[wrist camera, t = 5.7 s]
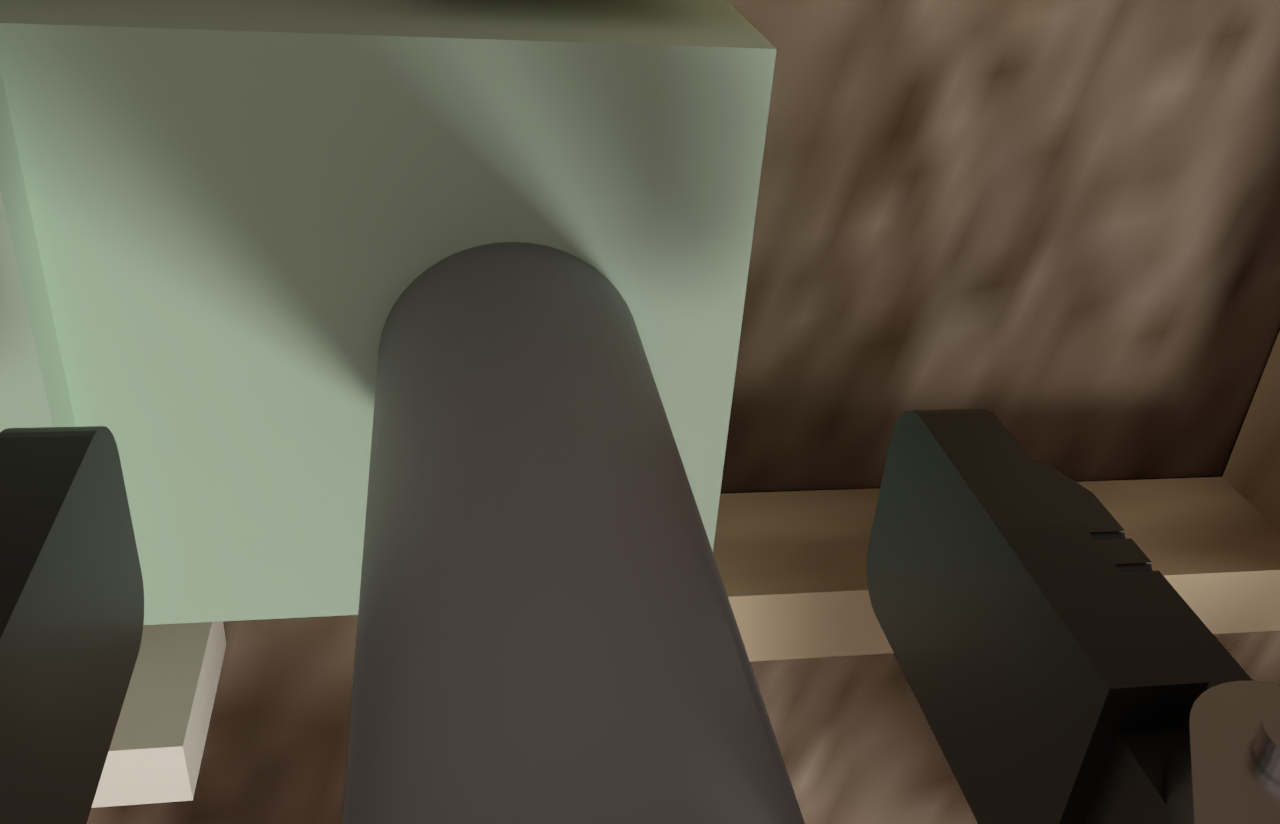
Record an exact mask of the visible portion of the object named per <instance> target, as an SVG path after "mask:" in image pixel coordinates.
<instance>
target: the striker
mask: <svg viewBox="0 0 1280 824" xmlns="http://www.w3.org/2000/svg"><path fill="white" fill-rule="evenodd" d="M776 50H777V49H776V48H775V47H774V46H773V45H772V44H771V43H770V42H769V41H768V40H767V39H766V38H765V37H764V36H763V35H762V34H761V33H760V32H759V31H758V30H757V29H756V28H755V27H754V26H753V25H751V24H750V23H749V22H748V21H747V20H746V19H745V18H744V17H743V16H742V15H741V14H740V13H739V12H738V11H737V10H736V9H735V8H734V7H733V6H732V5H731V4H730V3H729V2H728V1H727V0H0V432H2V431H3V430H4V429H7V428H37V427H84V426H105V427H107V428H108V429H109V430H110V431H111V432H112V434H113V436H114V439H115V441H116V444H117V448H118V452H119V457H120V462H121V467H122V473H123V478H124V483H125V488H126V494H127V499H128V504H129V509H130V515H131V520H132V525H133V530H134V536H135V541H136V546H137V551H138V556H139V562H140V567H141V572H142V579H143V588H144V623H143V625H158V624H179V623H199V622H220V621H240V620H261V619H281V618H302V617H322V616H342V615H358V624H357V637H356V650H355V663H354V676H353V689H352V702H351V715H350V728H349V741H348V755H347V768H346V781H345V794H344V807H343V820H342V824H805V823H804V820H803V817H802V814H801V811H800V808H799V805H798V803H797V800H796V797H795V794H794V791H793V788H792V785H791V782H790V779H789V776H788V773H787V770H786V767H785V764H784V761H783V758H782V755H781V752H780V749H779V746H778V743H777V740H776V738H775V735H774V732H773V729H772V726H771V723H770V720H769V717H768V714H767V711H766V708H765V705H764V702H763V699H762V696H761V693H760V690H759V687H758V684H757V681H756V678H755V676H754V673H753V670H752V667H751V664H750V661H749V658H748V655H747V652H746V649H745V646H744V643H743V640H742V637H741V634H740V631H739V628H738V625H737V622H736V619H735V616H734V614H733V611H732V608H731V605H730V602H729V599H728V596H727V593H726V590H725V587H724V584H723V581H722V578H721V575H720V572H719V569H718V566H717V563H716V560H715V557H714V554H713V547H714V539H715V531H716V523H717V515H718V507H719V499H720V492H721V484H722V476H723V468H724V460H725V452H726V444H727V436H728V429H729V421H730V413H731V405H732V397H733V389H734V381H735V373H736V365H737V358H738V350H739V342H740V334H741V326H742V318H743V310H744V302H745V295H746V287H747V279H748V271H749V263H750V255H751V247H752V239H753V232H754V224H755V216H756V208H757V200H758V192H759V184H760V176H761V169H762V161H763V153H764V145H765V137H766V129H767V121H768V113H769V105H770V98H771V90H772V82H773V74H774V66H775V58H776Z"/></svg>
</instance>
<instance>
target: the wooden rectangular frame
mask: <svg viewBox="0 0 1280 824" xmlns="http://www.w3.org/2000/svg"><path fill="white" fill-rule="evenodd" d="M1077 483H1079V484H1080V485H1082V486H1083V487H1085V488H1086V489H1088V490H1089V491H1091V492H1092V493H1093V494H1094V495H1095V496H1096V497H1097V498H1098V499H1099V501H1100V502H1101V503H1102V504H1103V505H1104V507H1105V508H1106V509H1107V510H1108V511H1109V512H1110V514H1111V515H1112V516H1113V517H1114V518H1115V519H1116V521H1117V522H1118V523H1119V524H1120V525H1121V527H1122V528H1123V529H1124V530H1125V538H1126V539H1128V538H1132V539H1133V541H1134V542H1135V543H1136V544H1137V545H1138V547H1139V548H1140V549H1141V550H1142V551H1143V552H1144V554H1145V555H1146V556H1147V557H1148V558H1149V559H1150V561H1151V562H1152V564H1151V566H1152V570H1153V571H1158V570H1159V571H1160V572H1161V574H1162V575H1163V576H1164V577H1165V578H1166V579H1167V581H1168V582H1169V583H1170V584H1171V585H1172V587H1173V588H1174V589H1175V590H1176V591H1177V592H1178V594H1179V595H1180V596H1181V597H1182V598H1183V599H1184V601H1185V602H1186V603H1187V604H1188V605H1189V607H1190V608H1191V609H1192V610H1193V611H1194V612H1195V614H1196V615H1197V616H1198V617H1199V618H1200V619H1201V621H1202V622H1203V623H1204V624H1205V625H1206V627H1207V628H1208V629H1209V630H1210V631H1211V632H1212V634H1228V633H1245V632H1262V631H1279V630H1280V331H1279V334H1278V336H1277V339H1276V341H1275V344H1274V346H1273V349H1272V351H1271V354H1270V357H1269V359H1268V362H1267V364H1266V367H1265V369H1264V372H1263V374H1262V377H1261V380H1260V382H1259V385H1258V387H1257V390H1256V392H1255V395H1254V397H1253V400H1252V402H1251V405H1250V408H1249V410H1248V413H1247V415H1246V418H1245V420H1244V423H1243V425H1242V428H1241V431H1240V433H1239V436H1238V438H1237V441H1236V443H1235V446H1234V448H1233V451H1232V453H1231V456H1230V459H1229V461H1228V464H1227V466H1226V469H1225V471H1224V474H1223V476H1222V477H1205V478H1175V479H1146V480H1116V481H1086V482H1077ZM879 492H880V488H876V489H846V490H817V491H787V492H757V493H727V494H720V499H719V507H718V515H717V523H716V531H715V539H714V547H713V554H714V557H715V560H716V563H717V566H718V569H719V572H720V575H721V578H722V581H723V584H724V587H725V590H726V593H727V596H728V599H729V602H730V605H731V608H732V611H733V614H734V616H735V619H736V622H737V625H738V628H739V631H740V634H741V637H742V640H743V643H744V646H745V649H746V652H747V655H748V658H749V661H750V662H752V661H769V660H786V659H803V658H820V657H837V656H854V655H871V654H888V653H894V652H893V650H892V648H891V646H890V644H889V642H888V640H887V638H886V636H885V634H884V632H883V630H882V628H881V626H880V624H879V622H878V620H877V618H876V616H875V613H874V611H873V608H872V605H871V601H870V596H869V591H868V584H867V572H866V560H867V550H868V544H869V539H870V534H871V529H872V525H873V520H874V515H875V511H876V506H877V501H878V496H879Z"/></svg>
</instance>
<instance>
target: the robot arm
mask: <svg viewBox="0 0 1280 824" xmlns="http://www.w3.org/2000/svg"><path fill="white" fill-rule="evenodd" d="M1151 564H1152V562H1151V561H1150V559H1149V558H1148V557H1147V556H1146V555H1145V554H1144V552H1143V551H1142V550H1141V549H1140V548H1139V547H1138V545H1137V544H1136V543H1135V542H1134V541H1133V539H1132V538H1128V539H1126V538H1125V530H1124V529H1123V528H1122V527H1121V525H1120V524H1119V523H1118V522H1117V521H1116V519H1115V518H1114V517H1113V516H1112V515H1111V514H1110V512H1109V511H1108V510H1107V509H1106V508H1105V507H1104V505H1103V504H1102V503H1101V502H1100V501H1099V499H1098V498H1097V497H1096V496H1095V495H1094V494H1093V493H1092V492H1091V491H1089V490H1088V489H1086V488H1085V487H1083V486H1082V485H1080V484H1079V483H1077V482H1075V481H1074V480H1072V479H1071V478H1069V477H1068V476H1066V475H1065V474H1063V473H1062V472H1060V471H1059V470H1057V469H1056V468H1054V467H1053V466H1051V465H1050V464H1048V463H1046V462H1045V461H1031V460H1030V458H1029V457H1028V456H1027V455H1026V453H1025V452H1024V451H1023V450H1022V448H1021V447H1020V446H1019V445H1018V443H1017V442H1016V441H1015V440H1014V438H1013V437H1012V436H1011V435H1010V433H1009V432H1008V431H1007V430H1006V428H1005V427H1004V426H1003V425H1002V424H1001V422H1000V421H999V420H998V419H997V417H996V416H995V415H994V414H993V413H992V412H990V411H988V410H985V409H960V410H914V411H905V412H904V413H902V414H901V415H900V417H899V418H898V420H897V421H896V423H895V426H894V428H893V432H892V435H891V440H890V444H889V449H888V454H887V459H886V463H885V468H884V473H883V477H882V482H881V487H880V492H879V496H878V501H877V506H876V511H875V515H874V520H873V525H872V529H871V534H870V539H869V544H868V550H867V560H866V572H867V584H868V591H869V596H870V601H871V605H872V608H873V611H874V613H875V616H876V618H877V620H878V622H879V624H880V626H881V628H882V630H883V632H884V634H885V636H886V638H887V640H888V642H889V644H890V646H891V648H892V650H893V652H894V654H895V656H896V658H897V660H898V662H899V664H900V666H901V668H902V670H903V672H904V675H905V677H906V679H907V681H908V683H909V685H910V687H911V689H912V691H913V693H914V695H915V697H916V699H917V701H918V703H919V705H920V707H921V709H922V711H923V713H924V715H925V717H926V719H927V721H928V723H929V725H930V727H931V729H932V731H933V733H934V735H935V737H936V739H937V741H938V743H939V745H940V747H941V749H942V751H943V753H944V755H945V757H946V759H947V761H948V763H949V765H950V768H951V770H952V772H953V774H954V776H955V778H956V780H957V782H958V784H959V786H960V788H961V790H962V792H963V794H964V796H965V798H966V800H967V802H968V804H969V806H970V808H971V810H972V812H973V814H974V816H975V818H976V820H977V822H978V824H1280V685H1279V684H1275V683H1269V682H1261V681H1252V679H1251V678H1250V677H1249V676H1248V675H1247V674H1246V672H1245V671H1244V670H1243V669H1242V668H1241V667H1240V665H1239V664H1238V663H1237V662H1236V661H1235V659H1234V658H1233V657H1232V656H1231V655H1230V654H1229V652H1228V651H1227V650H1226V649H1225V648H1224V647H1223V645H1222V644H1221V643H1220V642H1219V641H1218V639H1217V638H1216V637H1215V636H1214V635H1213V634H1212V632H1211V631H1210V630H1209V629H1208V628H1207V627H1206V625H1205V624H1204V623H1203V622H1202V621H1201V619H1200V618H1199V617H1198V616H1197V615H1196V614H1195V612H1194V611H1193V610H1192V609H1191V608H1190V607H1189V605H1188V604H1187V603H1186V602H1185V601H1184V599H1183V598H1182V597H1181V596H1180V595H1179V594H1178V592H1177V591H1176V590H1175V589H1174V588H1173V587H1172V585H1171V584H1170V583H1169V582H1168V581H1167V579H1166V578H1165V577H1164V576H1163V575H1162V574H1161V572H1160V571H1159V570H1158V571H1153V570H1152V566H1151ZM143 623H144V588H143V579H142V572H141V567H140V562H139V556H138V551H137V546H136V541H135V536H134V530H133V525H132V520H131V515H130V509H129V504H128V499H127V494H126V488H125V483H124V478H123V473H122V467H121V462H120V457H119V452H118V448H117V444H116V441H115V439H114V436H113V434H112V432H111V431H110V430H109V429H108V428H107V427H105V426H84V427H37V428H7V429H4V430H3V431H2V432H0V824H86V823H87V820H88V817H89V814H90V810H91V807H92V804H93V800H94V797H95V794H96V791H97V787H98V784H99V781H100V778H101V774H102V771H103V768H104V765H105V761H106V758H107V755H108V751H109V748H110V745H111V742H112V738H113V735H114V732H115V729H116V725H117V722H118V719H119V716H120V712H121V709H122V706H123V702H124V699H125V696H126V693H127V689H128V686H129V683H130V680H131V676H132V673H133V670H134V667H135V663H136V660H137V657H138V653H139V649H140V645H141V640H142V632H143Z"/></svg>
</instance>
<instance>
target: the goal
mask: <svg viewBox="0 0 1280 824" xmlns="http://www.w3.org/2000/svg"><path fill="white" fill-rule="evenodd" d="M225 649H226V637H225V631H224V624H223V621H220V622H199V623H179V624H158V625H143V632H142V640H141V645H140V649H139V653H138V657H137V660H136V663H135V667H134V670H133V673H132V676H131V680H130V683H129V686H128V689H127V693H126V696H125V699H124V702H123V706H122V709H121V712H120V716H119V719H118V722H117V725H116V729H115V732H114V735H113V738H112V742H111V745H110V748H109V751H108V755H107V758H106V761H105V765H104V768H103V771H102V774H101V778H100V781H99V784H98V787H97V791H96V794H95V797H94V800H93V804H92V807H91V808H97V807H111V806H125V805H138V804H152V803H165V802H179V801H193V798H194V793H195V788H196V784H197V779H198V774H199V770H200V765H201V760H202V756H203V751H204V746H205V742H206V737H207V732H208V728H209V723H210V718H211V714H212V709H213V705H214V700H215V695H216V691H217V686H218V681H219V677H220V672H221V667H222V663H223V658H224V653H225Z"/></svg>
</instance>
